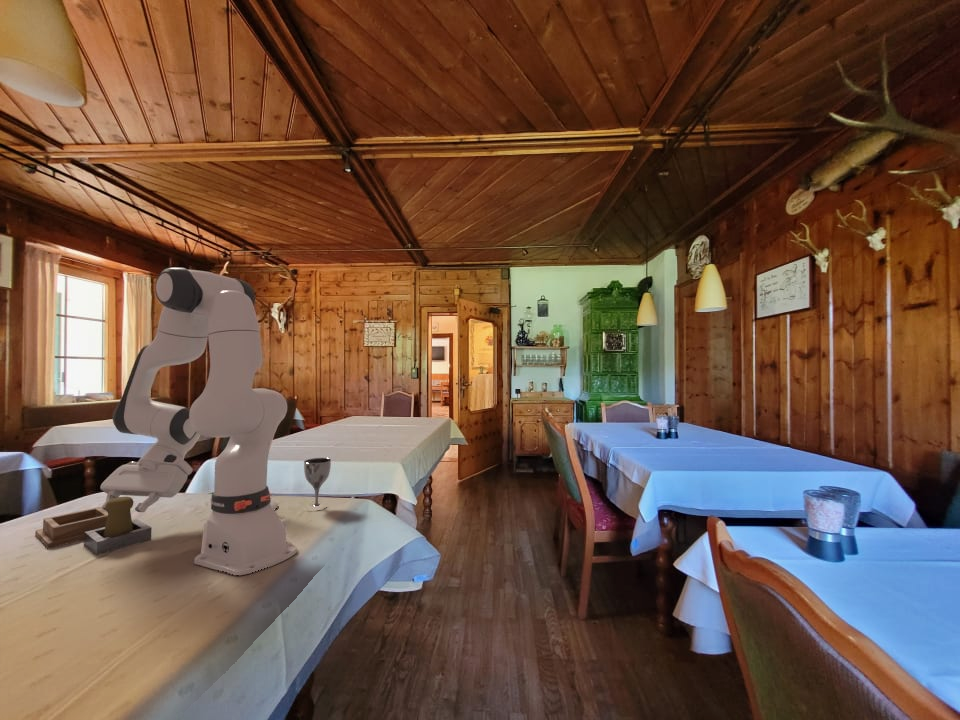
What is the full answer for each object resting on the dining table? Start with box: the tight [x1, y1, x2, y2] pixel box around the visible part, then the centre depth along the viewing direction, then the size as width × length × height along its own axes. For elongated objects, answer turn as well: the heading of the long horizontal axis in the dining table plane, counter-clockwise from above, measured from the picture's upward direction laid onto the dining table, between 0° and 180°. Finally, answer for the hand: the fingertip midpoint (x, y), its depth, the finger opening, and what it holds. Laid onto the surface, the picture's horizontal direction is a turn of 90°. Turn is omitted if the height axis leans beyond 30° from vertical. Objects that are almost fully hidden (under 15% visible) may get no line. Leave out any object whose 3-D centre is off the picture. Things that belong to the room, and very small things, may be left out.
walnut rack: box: [34, 506, 108, 549], centre depth 103 cm, size 14×13×4 cm
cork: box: [103, 496, 134, 538], centre depth 97 cm, size 6×6×11 cm
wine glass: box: [303, 457, 332, 507], centre depth 123 cm, size 8×8×15 cm
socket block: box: [83, 519, 152, 556], centre depth 97 cm, size 10×10×3 cm
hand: (122, 510), depth 98 cm, fingers open, 8 cm apart
